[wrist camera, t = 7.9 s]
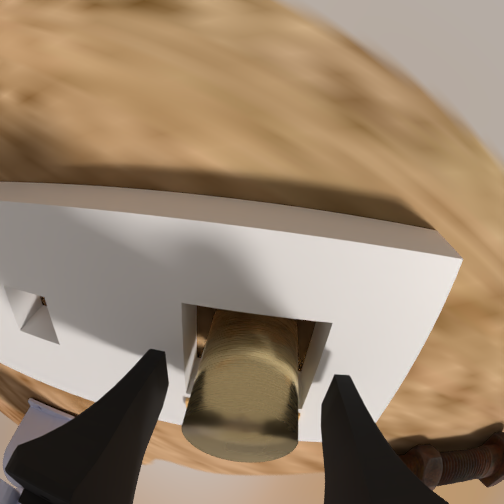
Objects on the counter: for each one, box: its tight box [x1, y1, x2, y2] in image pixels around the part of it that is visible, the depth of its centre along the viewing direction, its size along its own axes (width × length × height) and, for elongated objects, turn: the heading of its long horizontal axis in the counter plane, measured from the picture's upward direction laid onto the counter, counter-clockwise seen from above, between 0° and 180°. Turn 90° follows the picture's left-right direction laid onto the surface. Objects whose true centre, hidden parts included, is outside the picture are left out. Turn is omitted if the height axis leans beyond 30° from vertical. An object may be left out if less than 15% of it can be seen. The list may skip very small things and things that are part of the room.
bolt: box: [398, 432, 504, 490], centre depth 18 cm, size 6×5×15 cm
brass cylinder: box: [182, 309, 298, 462], centre depth 12 cm, size 4×4×6 cm
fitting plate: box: [0, 182, 463, 442], centre depth 14 cm, size 24×12×3 cm, turn 84°
